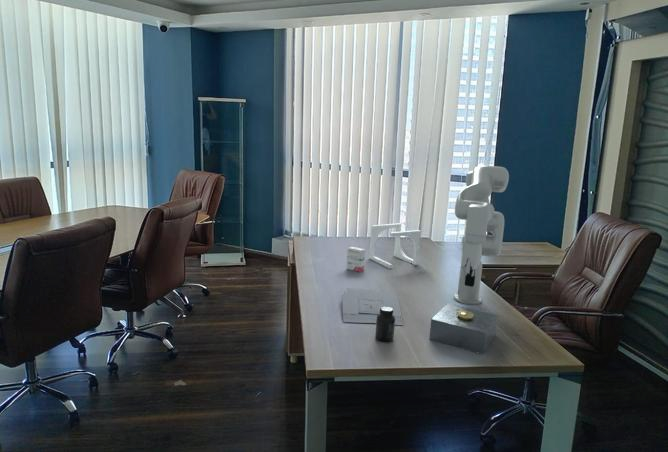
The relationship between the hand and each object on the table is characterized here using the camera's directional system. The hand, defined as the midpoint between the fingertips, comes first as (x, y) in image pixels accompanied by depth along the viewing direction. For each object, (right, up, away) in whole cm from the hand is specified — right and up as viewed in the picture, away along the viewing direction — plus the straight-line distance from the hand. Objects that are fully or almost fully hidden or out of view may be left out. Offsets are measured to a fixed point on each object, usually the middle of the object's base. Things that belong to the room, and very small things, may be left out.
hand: (469, 285), depth 185 cm
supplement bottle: (-32, -20, -1) cm, 38 cm away
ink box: (-39, -1, +81) cm, 90 cm away
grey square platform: (-1, -20, +4) cm, 21 cm away
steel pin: (-1, -20, +4) cm, 21 cm away
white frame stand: (-17, +1, +100) cm, 102 cm away
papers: (-35, -14, +26) cm, 46 cm away
